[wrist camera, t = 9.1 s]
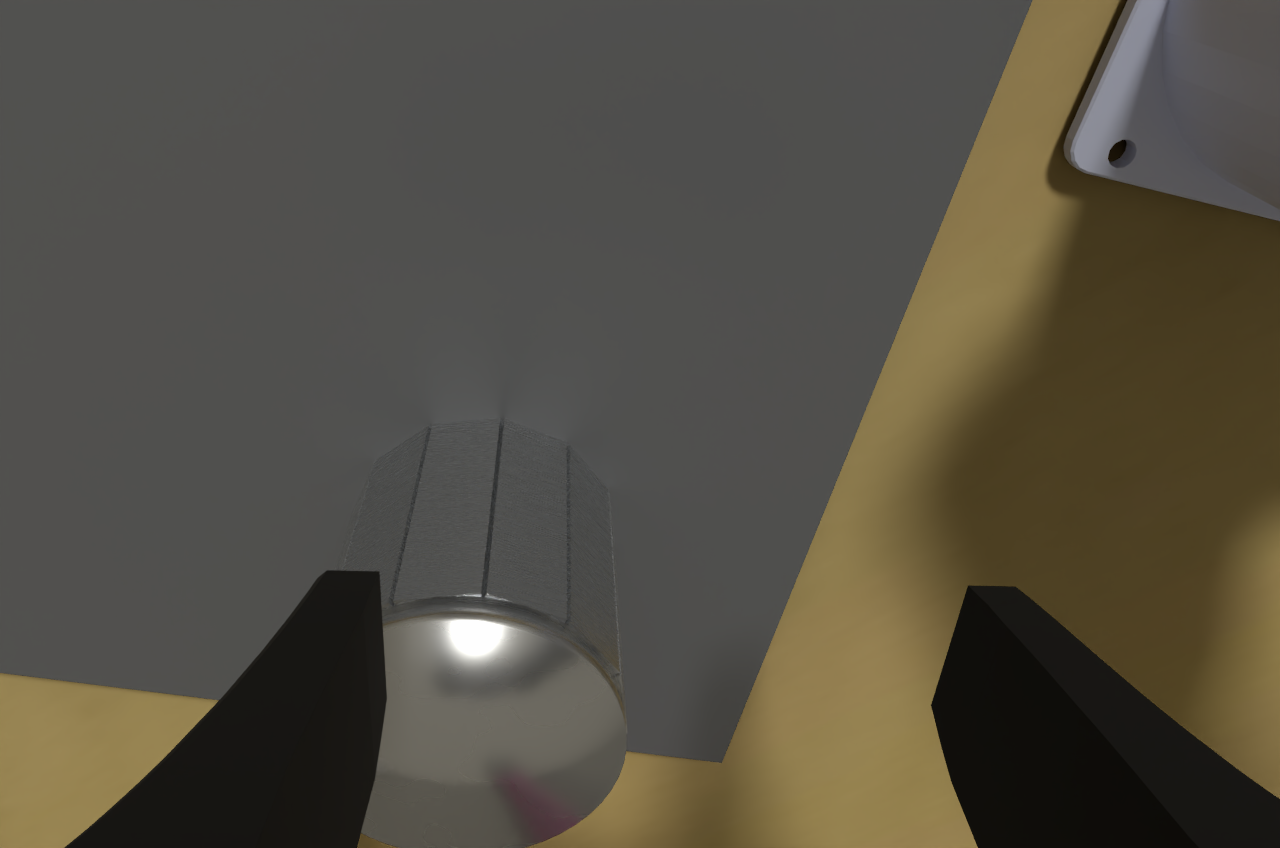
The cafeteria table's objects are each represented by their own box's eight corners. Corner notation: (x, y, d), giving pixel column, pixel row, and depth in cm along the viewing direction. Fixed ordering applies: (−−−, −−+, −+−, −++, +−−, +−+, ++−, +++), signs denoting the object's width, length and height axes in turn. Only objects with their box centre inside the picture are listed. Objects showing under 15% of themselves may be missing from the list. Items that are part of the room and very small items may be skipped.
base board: (1045, -98, 17) (1070, -94, 16) (716, 732, 27) (721, 762, 26) (-294, -495, 14) (-351, -517, 13) (-122, 623, 23) (-148, 654, 22)
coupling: (600, 408, 20) (612, 605, 15) (621, 614, 23) (637, 839, 18) (331, 433, 20) (252, 639, 15) (383, 636, 23) (332, 870, 18)
